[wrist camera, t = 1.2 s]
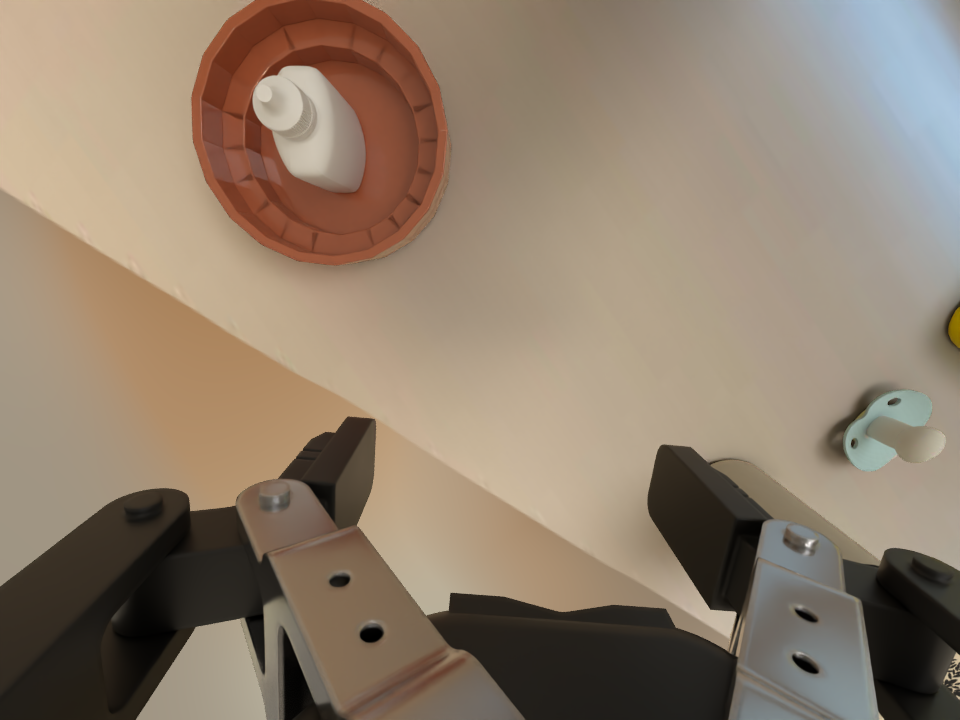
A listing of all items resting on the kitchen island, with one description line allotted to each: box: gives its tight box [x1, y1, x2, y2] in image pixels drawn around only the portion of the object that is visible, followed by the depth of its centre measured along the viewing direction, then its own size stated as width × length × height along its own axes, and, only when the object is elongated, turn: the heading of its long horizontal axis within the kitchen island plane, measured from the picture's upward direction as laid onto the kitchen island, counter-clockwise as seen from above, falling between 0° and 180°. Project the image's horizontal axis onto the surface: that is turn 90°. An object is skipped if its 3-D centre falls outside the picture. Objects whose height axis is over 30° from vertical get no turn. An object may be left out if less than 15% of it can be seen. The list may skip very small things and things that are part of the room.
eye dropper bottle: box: [252, 66, 366, 193], centre depth 25 cm, size 4×6×12 cm
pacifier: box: [843, 389, 946, 471], centre depth 34 cm, size 7×6×6 cm
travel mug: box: [711, 460, 960, 720], centre depth 30 cm, size 8×8×18 cm
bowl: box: [191, 0, 451, 265], centre depth 29 cm, size 15×15×5 cm
